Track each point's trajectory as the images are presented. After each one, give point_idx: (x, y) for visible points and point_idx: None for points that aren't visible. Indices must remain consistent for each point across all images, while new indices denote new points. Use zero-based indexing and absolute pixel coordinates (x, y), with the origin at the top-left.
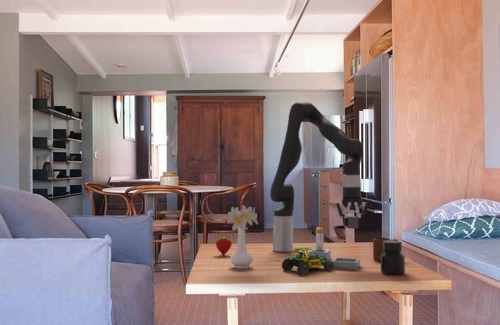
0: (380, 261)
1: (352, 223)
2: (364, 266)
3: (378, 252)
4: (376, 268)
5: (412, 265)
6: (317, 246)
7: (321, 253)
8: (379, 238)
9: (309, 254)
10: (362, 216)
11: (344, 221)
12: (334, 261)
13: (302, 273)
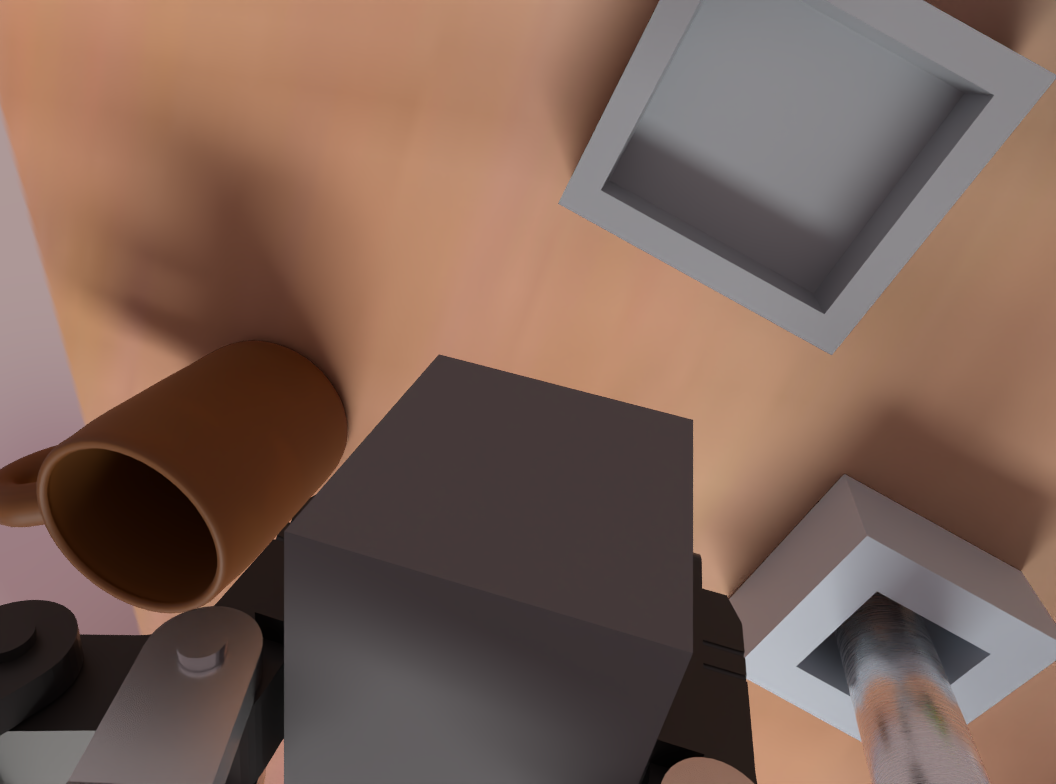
0: (305, 358)
1: (563, 460)
2: (529, 162)
3: (272, 401)
4: (432, 23)
5: (55, 136)
6: (951, 690)
7: (922, 559)
8: (152, 600)
9: (1046, 617)
10: (100, 644)
11: (743, 697)
12: (1016, 53)
13: None
